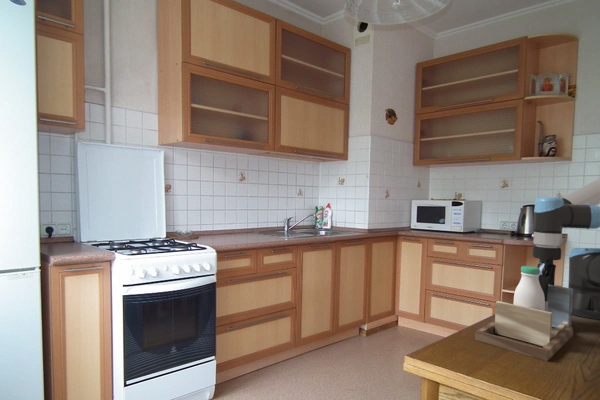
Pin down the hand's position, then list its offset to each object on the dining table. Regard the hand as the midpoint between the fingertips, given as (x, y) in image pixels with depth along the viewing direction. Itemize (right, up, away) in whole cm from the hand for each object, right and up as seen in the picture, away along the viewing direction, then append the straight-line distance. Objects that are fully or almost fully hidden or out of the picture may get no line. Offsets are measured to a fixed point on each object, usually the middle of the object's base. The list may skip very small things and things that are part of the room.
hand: (543, 319), depth 121 cm
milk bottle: (-12, -1, -12) cm, 17 cm away
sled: (-8, -1, -7) cm, 10 cm away
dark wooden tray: (-14, -1, -13) cm, 19 cm away
